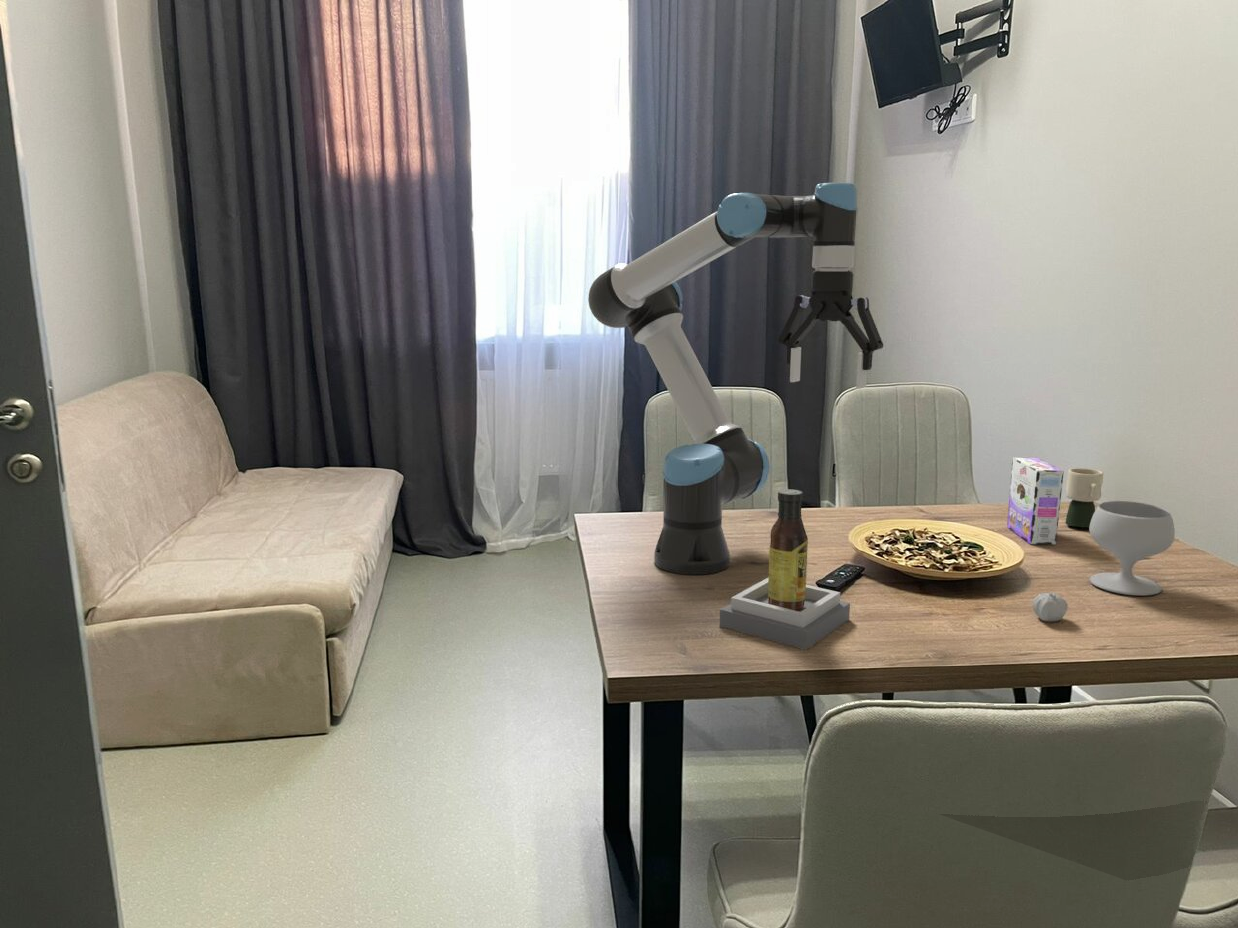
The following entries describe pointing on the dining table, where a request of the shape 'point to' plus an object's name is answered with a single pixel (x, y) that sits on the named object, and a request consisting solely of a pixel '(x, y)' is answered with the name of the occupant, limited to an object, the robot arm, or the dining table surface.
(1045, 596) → the garlic
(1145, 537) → the chalice
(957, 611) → the dining table surface
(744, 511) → the dining table surface
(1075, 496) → the character mug
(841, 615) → the pedestal
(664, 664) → the dining table surface
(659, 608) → the dining table surface
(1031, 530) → the candy box
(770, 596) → the sauce bottle
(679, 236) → the robot arm
